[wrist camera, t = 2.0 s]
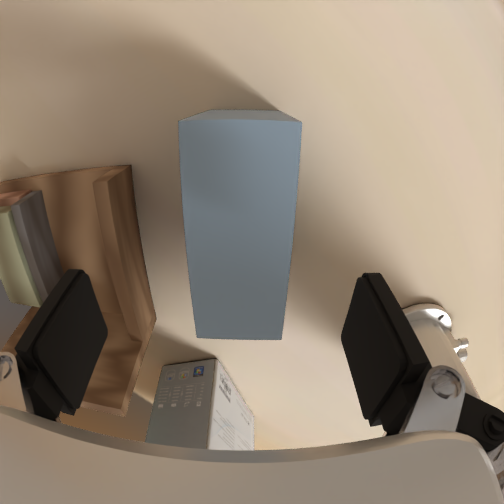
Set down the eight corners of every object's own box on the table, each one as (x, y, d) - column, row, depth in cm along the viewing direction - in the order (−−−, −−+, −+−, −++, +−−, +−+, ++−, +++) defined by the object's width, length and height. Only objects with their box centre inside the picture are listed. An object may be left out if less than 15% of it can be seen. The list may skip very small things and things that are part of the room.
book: (280, 110, 20) (303, 122, 11) (272, 254, 26) (282, 339, 17) (209, 109, 20) (177, 121, 11) (213, 253, 26) (195, 337, 17)
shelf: (131, 164, 21) (43, 231, 11) (156, 318, 29) (125, 416, 19) (2, 181, 21) (-78, 235, 11) (41, 305, 29) (-5, 376, 19)
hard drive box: (160, 363, 33) (126, 515, 16) (217, 355, 32) (202, 527, 15) (209, 421, 41) (200, 535, 23) (256, 416, 40) (257, 537, 22)
